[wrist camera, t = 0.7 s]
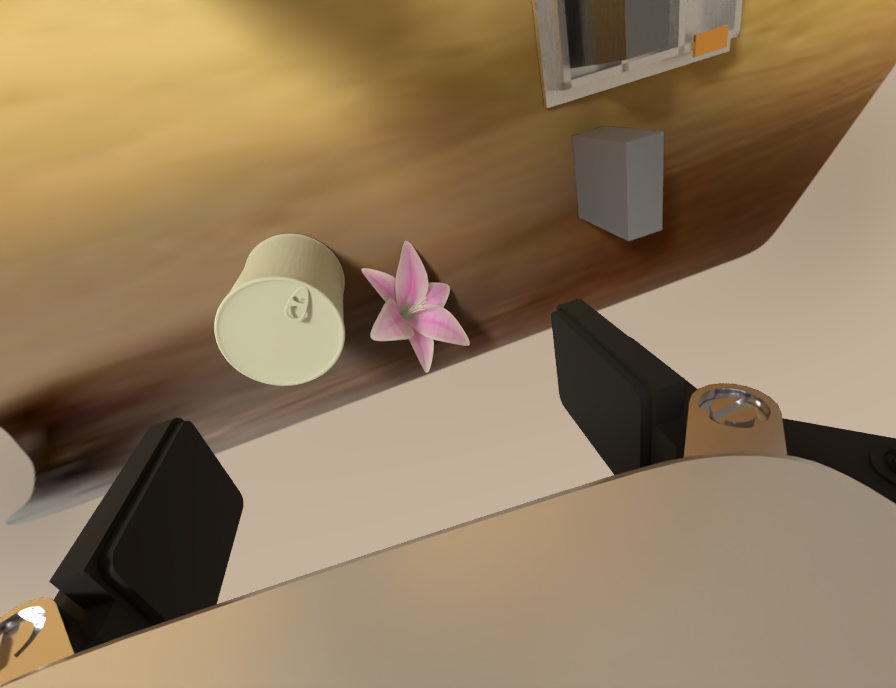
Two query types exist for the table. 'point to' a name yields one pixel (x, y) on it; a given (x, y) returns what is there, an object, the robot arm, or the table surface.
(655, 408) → the robot arm
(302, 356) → the can
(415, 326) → the lily
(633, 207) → the panel
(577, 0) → the rack
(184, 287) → the table surface
